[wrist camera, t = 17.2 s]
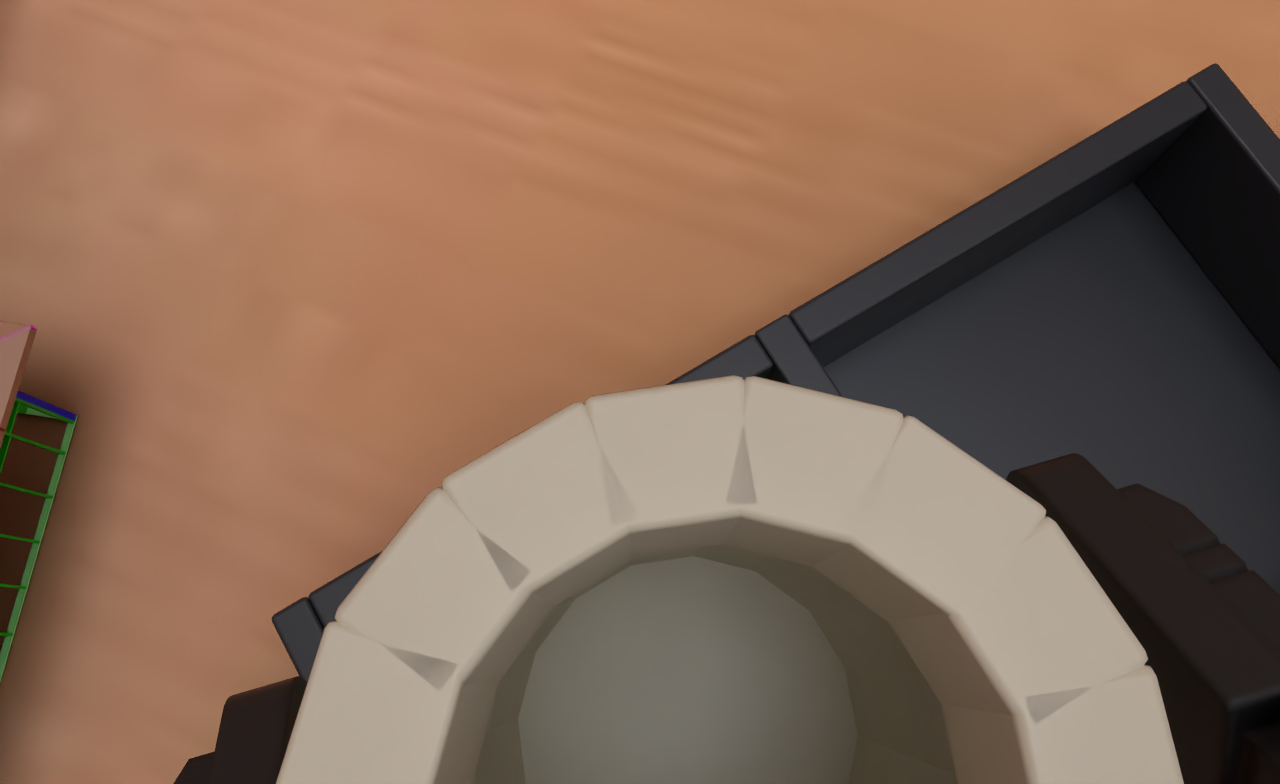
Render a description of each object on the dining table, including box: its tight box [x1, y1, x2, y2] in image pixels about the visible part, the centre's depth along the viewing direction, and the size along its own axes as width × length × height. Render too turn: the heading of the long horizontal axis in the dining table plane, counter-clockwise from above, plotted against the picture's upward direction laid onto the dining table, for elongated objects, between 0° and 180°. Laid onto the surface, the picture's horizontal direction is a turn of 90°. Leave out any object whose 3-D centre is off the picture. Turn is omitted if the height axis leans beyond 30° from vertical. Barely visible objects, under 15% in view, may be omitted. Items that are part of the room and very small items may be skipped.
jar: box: [276, 375, 1184, 784], centre depth 12 cm, size 6×6×10 cm
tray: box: [272, 64, 1280, 683], centre depth 17 cm, size 17×9×3 cm, turn 121°
